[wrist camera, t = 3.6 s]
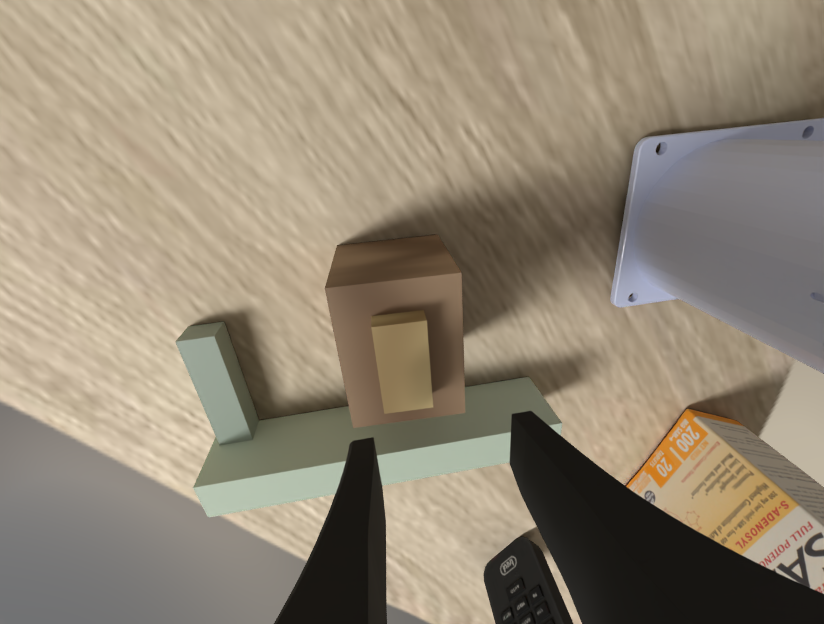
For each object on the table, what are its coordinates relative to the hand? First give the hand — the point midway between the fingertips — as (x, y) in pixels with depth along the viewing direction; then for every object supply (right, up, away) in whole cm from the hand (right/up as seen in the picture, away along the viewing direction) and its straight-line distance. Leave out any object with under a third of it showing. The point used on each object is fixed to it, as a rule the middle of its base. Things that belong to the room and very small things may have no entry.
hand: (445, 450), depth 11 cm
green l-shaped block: (-3, +1, +8) cm, 9 cm away
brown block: (-2, +5, +7) cm, 9 cm away
